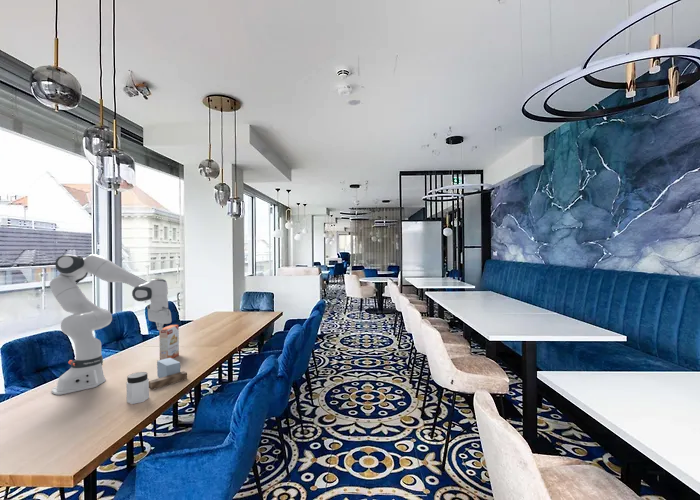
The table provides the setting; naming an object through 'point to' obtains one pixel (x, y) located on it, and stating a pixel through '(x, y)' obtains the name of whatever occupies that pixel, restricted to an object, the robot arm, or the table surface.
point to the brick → (167, 367)
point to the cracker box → (169, 342)
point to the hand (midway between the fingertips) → (159, 329)
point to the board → (167, 380)
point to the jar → (137, 387)
